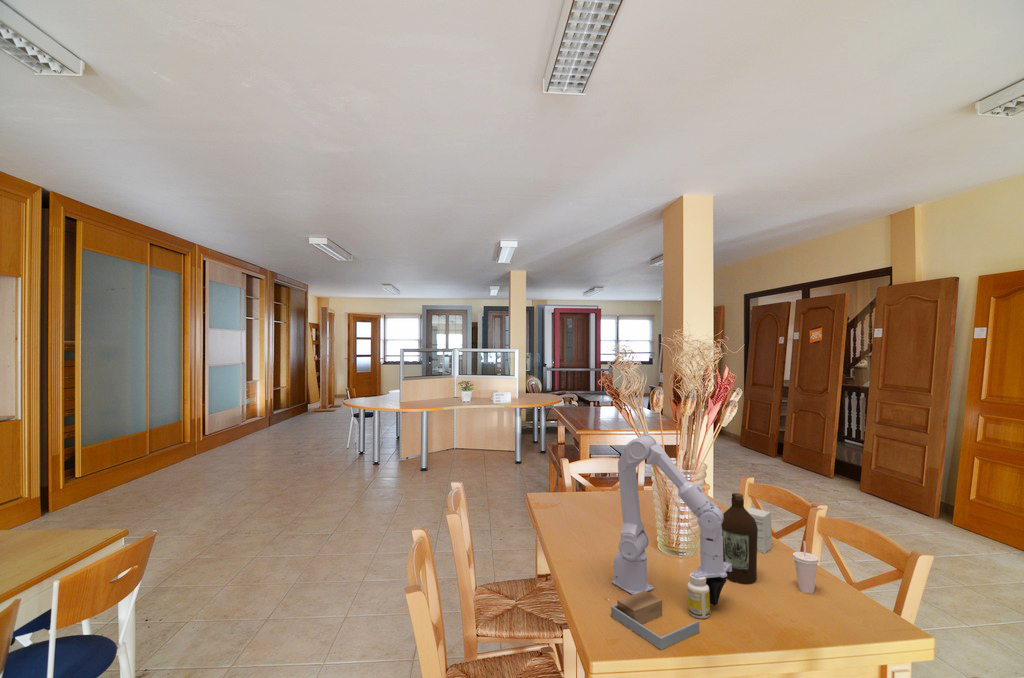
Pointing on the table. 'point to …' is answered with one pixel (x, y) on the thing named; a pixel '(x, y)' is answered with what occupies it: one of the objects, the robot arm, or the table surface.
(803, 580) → the smoothie
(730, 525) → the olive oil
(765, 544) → the supplement box
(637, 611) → the block
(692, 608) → the supplement bottle
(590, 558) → the table surface
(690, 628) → the grey bracket
